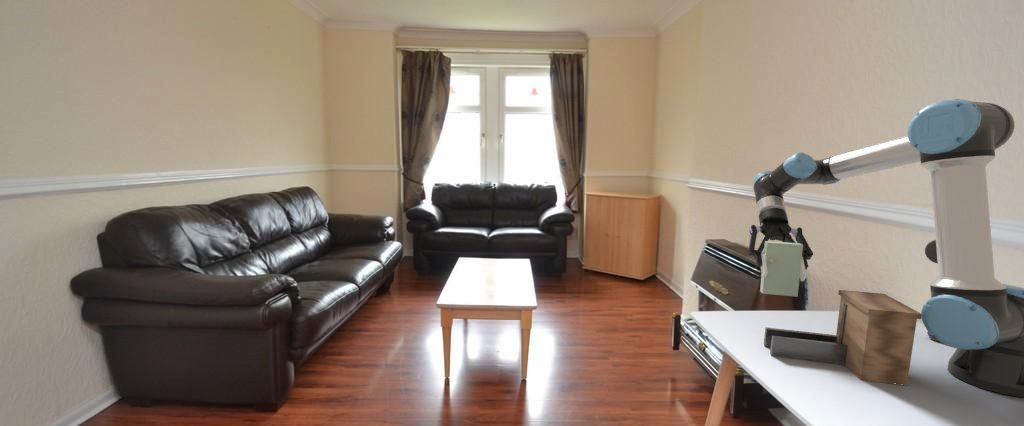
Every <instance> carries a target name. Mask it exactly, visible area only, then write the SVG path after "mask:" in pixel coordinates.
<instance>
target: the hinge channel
mask: <svg viewBox="0 0 1024 426" xmlns="http://www.w3.org/2000/svg"><path fill="white" fill-rule="evenodd" d="M763 347H767V348H770V351H769V352H770V353H769V354H770V356H771V357H776V358H785V359H792V360H793V359H795V360H801V361H802V360H803V361H810V362H817V363H825V364H833V365H835V364H836V365H841V366H842V365H843V366H846V357H847V350H848V346H847V345H846V344H841V343H837V336H836V334H831V333H830V334H829V333H822V332H821V333H820V332H812V331H804V330H803V331H802V330H793V329H784V328H774V327H765V329H764V338H763Z"/></svg>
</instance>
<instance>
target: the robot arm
mask: <svg viewBox="0 0 1024 426" xmlns="http://www.w3.org/2000/svg"><path fill="white" fill-rule="evenodd" d="M1014 131H1015V119H1014V117H1013V115H1012V114H1011V112H1010V111H1009V110H1008V109H1006V108H1005V107H1003V106H1001V105H999V104H995V103H992V102H991V103H990V102H980V101H979V102H978V101H971V100H967V99H963V98H962V99H960V98H959V99H958V98H955V99H945V100H939V101H936V102H932V103H931V104H928V105H926V106H925V107H923V108H921V109H919V111H918V112H917V113H916V114H915V115H914V116H913V117H912V119H911V120H910V122H909V124H908V128H907V135H904V136H901V137H897V138H894V139H890V140H886V141H882V142H879V143H874V144H873V145H868V146H865V147H861V148H858V149H855V150H851V151H848V152H844V153H840V154H837V155H834V156H829V157H826V158H822V159H814V158H813V156H811V155H809V154H806V152H802V151H801V152H799V151H798V152H796V153H794V154H793V155H791V156H790V157H788V158H786V159H785V160H784V161H783V162H782V163H781V164H780V165H778V166H777V167H776V168H774V169H773V170H765V171H762V172H759V173H758V174H755V176H754V178H753V180H752V181H753V182H752V183H753V188H752V189H753V192H754V195H755V196H754V197H755V202H756V209H757V214H758V221H759V225H760V226H756V225H754V224H752V225H750V226H751V227H750V228H749V233H750V234H749V235H750V237H749V238H750V239H749V244H748V250H747V255H748V256H750V257H752V256H753V258H754V259H755V263H756V267H760V271H761V272H760V273H761V276H762V278H765V277H766V276H767V274H768V272H767V266H766V260H765V254H764V253H762V252H764V245H765V241H769V240H770V241H777V242H787V243H800V244H802V245H803V251H802V260H801V269H800V279H799V281H800V282H804V281H805V280H806V279H807V277H808V275H807V269H808V268H809V263H808V261H809V260H811V258H812V257H813V256H814V252H813V251H812V249H811V247H810V246H809V244H808V241H807V240H806V238H805V236H804V234H803V228H801V227H800V226H799V227H797V228H793V227H791V226H790V225H789V224H790V223H789V219H788V218H789V217H788V214H787V210H786V203H785V200H784V196H783V195H784V194H785V193H787V192H789V191H790V190H791V189H793V188H794V187H795V186H797V185H823V186H824V185H825V186H826V185H832V184H836V183H838V182H840V181H842V180H846V179H849V178H854V177H858V176H863V175H867V174H872V173H877V172H881V171H885V170H889V169H894V168H898V167H903V166H907V165H911V164H915V163H920V166H922V167H923V168H925V169H927V170H928V171H929V173H930V179H931V180H930V181H931V182H930V184H931V195H932V206H933V218H934V219H933V220H934V232H935V240H936V248H937V261H938V264H937V271H938V272H937V273H938V276H937V277H936V278H935V279H934V280H933V281H930V283H929V285H930V286H929V288H930V298H929V299H928V300H927V301H926V302H925V303H924V304H923V306H922V308H921V311H920V313H921V314H922V317H921V321H922V323H923V326H924V328H925V329H926V330H927V332H929V333H930V334H931V335H933V336H934V337H935V338H936V339H937V340H939V341H938V342H940V343H942V344H943V345H944V344H945V345H947V346H948V347H950V348H954V349H956V350H955V351H954V352H953V354H952V355H951V357H950V358H949V360H948V362H947V368H946V369H947V371H948V372H949V373H950V374H951V375H952V376H954V377H955V378H957V379H958V380H960V381H963V382H965V383H967V384H970V385H973V386H975V387H978V388H981V389H983V390H987V391H990V392H993V393H998V394H1002V395H1006V396H1007V395H1008V396H1010V397H1011V396H1013V397H1019V398H1024V287H1020V286H1015V285H1011V284H1005V283H1001V282H1000V281H999V280H997V279H996V277H995V269H994V268H995V267H994V257H993V256H994V255H993V253H994V252H993V242H992V232H991V230H992V229H991V219H990V208H989V195H988V193H989V192H988V182H987V180H988V179H987V171H986V167H987V166H988V164H990V163H991V162H992V161H993V160H995V159H996V151H995V150H998V149H999V148H1001V147H1002V146H1004V145H1005V144H1006V143H1007V142H1009V140H1010V138H1011V137H1012V135H1013V133H1014ZM759 232H760V233H761V234H763V236H764V237H763V239H762V241H761V243H760V245H759V247H758V248H757V250H756V247H755V246H756V242H757V237H758V236H757V235H758V234H759ZM791 234H792V235H791ZM793 237H794V239H795V240H794V239H793Z"/></svg>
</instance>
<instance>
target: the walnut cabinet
mask: <svg viewBox="0 0 1024 426" xmlns="http://www.w3.org/2000/svg"><path fill="white" fill-rule="evenodd" d="M837 295H839V297H840V303H839V304H840V305H839V311H838V318H837V326H836V327H837V328H836V334H835V335H836V336H837V343H841V344H846V345H847V346H848V350H847V357H846V365H845V366H846V367H847V368H848V369H849V370H850V369H851V370H850V371H851V372H852V374H854V375H855V376H856V377H857V378H858V379H859V380H860V381H868V382H876V383H881V384H883V383H884V384H889V383H896V384H895V385H897V384H903V385H902V386H905V385H907V386H908V381H909V374H910V368H911V361H912V354H913V346H914V341H915V335H916V327H917V321H918V320H922V318H921V317H922V314H921V312H919V311H918V310H915V309H913V308H912V307H911V306H908V305H906V304H904V303H903V302H900V301H899V300H897V299H895V298H893V297H891V296H890V295H887V294H886V293H878V292H871V291H870V292H868V291H857V290H856V291H855V290H845V289H838V293H837Z"/></svg>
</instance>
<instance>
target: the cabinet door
mask: <svg viewBox="0 0 1024 426" xmlns="http://www.w3.org/2000/svg"><path fill="white" fill-rule="evenodd" d="M802 251H803V245H802V244H800V243H797V242H796V243H787V242H782V241H772V240H770V241H769V240H768V241H765V245H764V249H763V254H765V260H766V266H767V272H768V274H767V276H766V277H765V278H762V275H761V276H760V290H759V292H760V293H761V294H764V295H775V296H776V295H777V296H787V297H789V296H790V297H796V298H797V297H798V296H799V295H798V294H799V286H800V269H801V260H802Z"/></svg>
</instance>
